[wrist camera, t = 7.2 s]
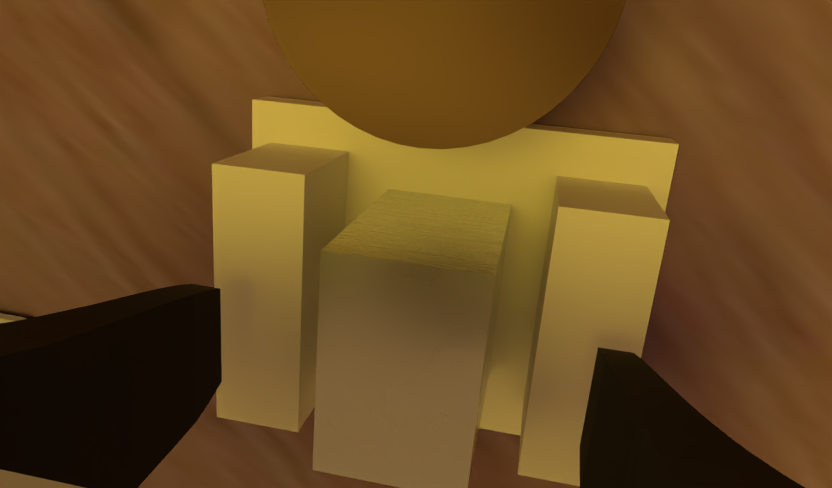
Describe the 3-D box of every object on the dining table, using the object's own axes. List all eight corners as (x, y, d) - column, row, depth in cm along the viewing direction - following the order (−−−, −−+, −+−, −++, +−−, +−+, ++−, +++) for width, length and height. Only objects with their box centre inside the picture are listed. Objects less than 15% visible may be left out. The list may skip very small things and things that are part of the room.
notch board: (611, 431, 18) (628, 535, 14) (266, 370, 19) (198, 449, 15) (670, 138, 15) (710, 169, 11) (268, 96, 17) (188, 111, 13)
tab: (511, 204, 15) (495, 275, 11) (489, 372, 17) (465, 500, 12) (388, 188, 16) (321, 250, 11) (377, 353, 17) (312, 469, 12)
